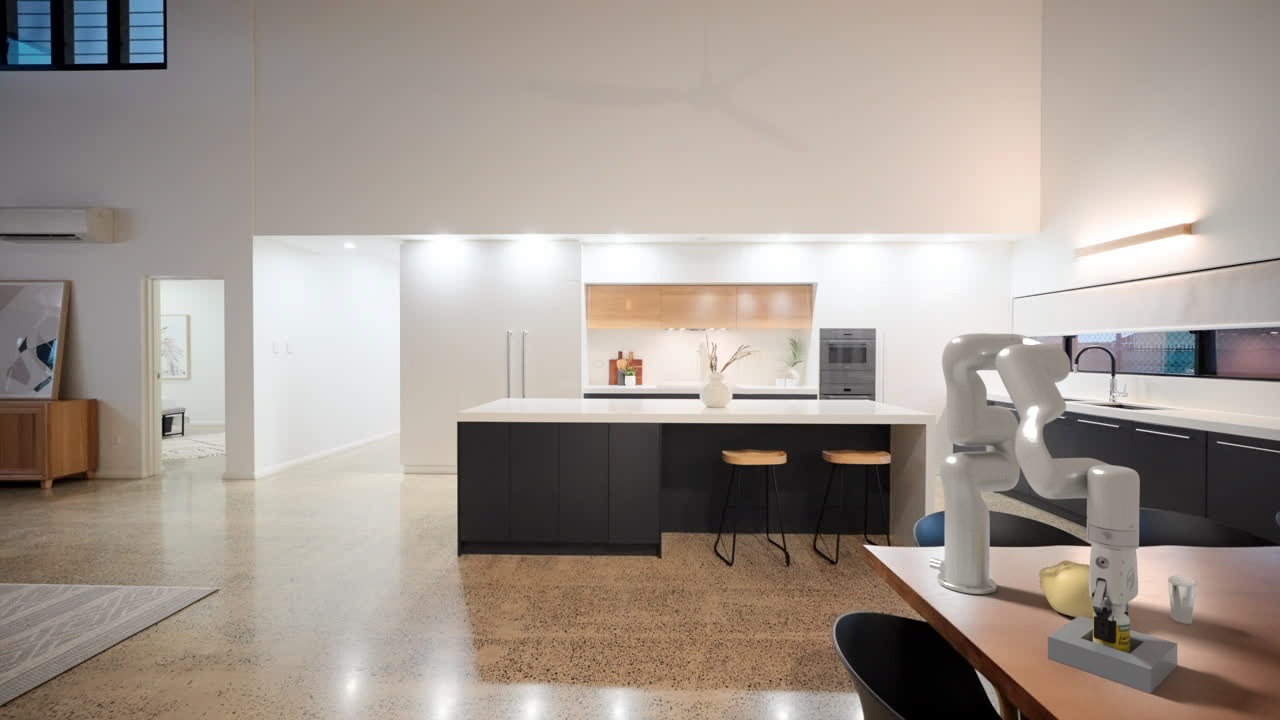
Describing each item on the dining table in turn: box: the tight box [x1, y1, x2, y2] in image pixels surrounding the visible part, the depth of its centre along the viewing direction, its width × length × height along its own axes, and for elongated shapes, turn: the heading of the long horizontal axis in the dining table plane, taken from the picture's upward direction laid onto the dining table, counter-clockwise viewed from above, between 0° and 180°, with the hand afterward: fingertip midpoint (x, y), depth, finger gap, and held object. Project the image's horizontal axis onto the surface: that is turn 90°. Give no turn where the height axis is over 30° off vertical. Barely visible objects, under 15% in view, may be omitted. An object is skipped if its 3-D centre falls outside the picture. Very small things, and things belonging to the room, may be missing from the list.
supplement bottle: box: [1093, 597, 1131, 654], centre depth 114 cm, size 5×5×10 cm
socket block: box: [1047, 616, 1178, 695], centre depth 114 cm, size 15×15×4 cm
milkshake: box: [1167, 574, 1202, 625], centre depth 131 cm, size 4×5×10 cm
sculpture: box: [1038, 559, 1094, 619], centre depth 135 cm, size 11×12×11 cm
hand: (1110, 634), depth 114 cm, fingers closed on supplement bottle, 5 cm apart
